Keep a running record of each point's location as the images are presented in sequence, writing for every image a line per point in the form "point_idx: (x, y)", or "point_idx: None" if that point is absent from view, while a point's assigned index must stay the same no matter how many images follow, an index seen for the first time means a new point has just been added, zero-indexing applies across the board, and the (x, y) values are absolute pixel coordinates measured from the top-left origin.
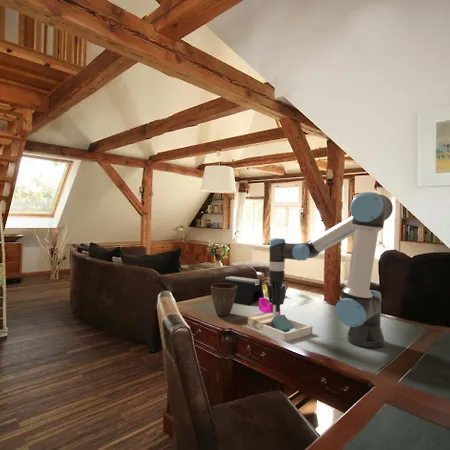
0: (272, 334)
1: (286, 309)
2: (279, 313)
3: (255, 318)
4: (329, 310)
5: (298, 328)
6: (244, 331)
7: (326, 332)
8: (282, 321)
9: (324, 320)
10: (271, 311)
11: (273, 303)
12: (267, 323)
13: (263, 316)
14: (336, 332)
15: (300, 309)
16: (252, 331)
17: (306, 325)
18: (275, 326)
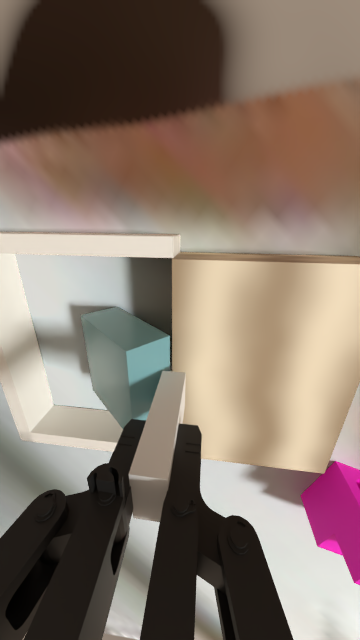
0: (86, 233)
1: (343, 573)
2: (309, 511)
3: (319, 299)
4: (210, 615)
5: (105, 415)
6: (281, 122)
7: (38, 455)
8: (107, 374)
9: (143, 541)
10: (348, 501)
11: (164, 502)
12: (173, 292)
13: (303, 384)
14: (26, 474)
15: (294, 592)
16: (237, 186)
17: (43, 433)
18: (134, 319)
